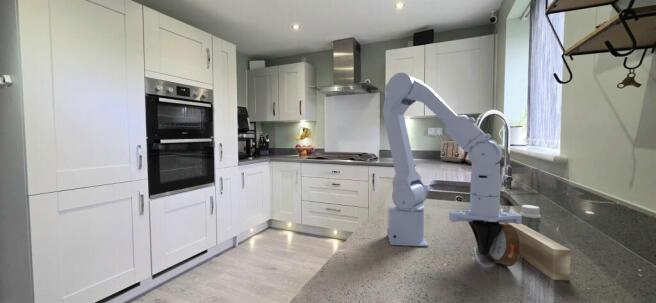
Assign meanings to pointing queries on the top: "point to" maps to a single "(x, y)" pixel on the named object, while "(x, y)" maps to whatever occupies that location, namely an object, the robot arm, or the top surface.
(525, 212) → the pill bottle
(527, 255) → the board
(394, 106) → the robot arm
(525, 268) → the top surface
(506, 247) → the tin
